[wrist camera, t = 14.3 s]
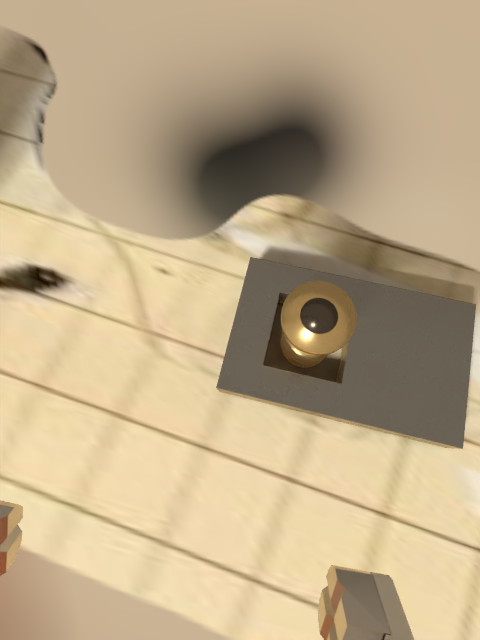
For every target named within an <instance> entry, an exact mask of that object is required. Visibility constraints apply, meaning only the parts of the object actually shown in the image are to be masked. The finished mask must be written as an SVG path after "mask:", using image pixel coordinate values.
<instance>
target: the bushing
mask: <svg viewBox="0 0 480 640" xmlns="http://www.w3.org/2000/svg"><path fill="white" fill-rule="evenodd" d="M356 324H357V313H356V308H355V305H354V303H353V301H352V300H351V298H350V297H349V295H348V294H347V293H346V292H345V291H344V290H342V289H341V288H340V287H338V286H336V285H334V284H332V283H329V282H324V281H311V282H307V283H304V284H301V285H299V286H298V287H296V288H295V289H293V290H292V291H291V292H290V293H289V295H288V296H287V298H286V299H285V301H284V303H283V307H282V311H281V326H282V330H283V332H282V336H281V341H280V346H281V351H282V353H283V355H284V357H285V358H286V359H287V360H288V361H289V362H290V363H292V364H293V365H295V366H298V367H303V368H307V367H313V366H315V365H317V364H319V363H320V362H321V361H322V360H323V359H324V358H325V357H326V356H327V355H328V354H330V353H333V352H335V351H337V350H339V349H340V348H342V347H343V346H344V345H345V344H346V343H347V342H348V341H349V340H350V338H351V337H352V335H353V333H354V331H355V329H356Z"/></svg>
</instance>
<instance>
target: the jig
mask: <svg viewBox="0 0 480 640" xmlns="http://www.w3.org/2000/svg"><path fill="white" fill-rule="evenodd" d="M311 281H324V282H329V283H332V284H334V285H336V286H338V287H340V288H341V289H342V290H344V291H345V292H346V293H347V294H348V295H349V297H350V298H351V300H352V301H353V303H354V305H355V308H356V313H357V324H356V329H355V331H354V333H353V335H352V337H351V338H350V340H349V341H348V342H347V343H346V344H345V345H344V346H343V347H342V353H341V358H340V364H339V369H338V375H337V380H336V382H332V381H328V380H324V379H319V378H315V377H311V376H307V375H303V374H298V373H294V372H290V371H286V370H282V369H277V368H273V367H269V366H265V365H264V361H265V357H266V353H267V348H268V344H269V340H270V335H271V331H272V327H273V323H274V318H275V314H276V310H277V305H278V303H282V304H283V303H284V301H285V299H286V298H287V296H288V295H289V293H290V292H291V291H292V290H293V289H295V288H296V287H298V286H299V285H301V284H304V283H307V282H311ZM475 309H476V304H472V303H467V302H462V301H457V300H453V299H448V298H443V297H438V296H434V295H429V294H424V293H419V292H414V291H410V290H405V289H400V288H395V287H391V286H386V285H381V284H376V283H372V282H367V281H362V280H357V279H353V278H348V277H343V276H338V275H333V274H329V273H324V272H319V271H314V270H310V269H305V268H300V267H295V266H291V265H286V264H281V263H276V262H272V261H267V260H262V259H257V258H252V257H250V261H249V265H248V269H247V273H246V277H245V280H244V284H243V288H242V292H241V296H240V299H239V303H238V307H237V311H236V315H235V319H234V322H233V326H232V330H231V334H230V338H229V342H228V345H227V349H226V353H225V357H224V361H223V364H222V368H221V372H220V376H219V380H218V384H217V387H216V388H217V389H218V390H219V391H220V392H224V393H228V394H232V395H236V396H240V397H244V398H248V399H252V400H256V401H260V402H264V403H268V404H272V405H276V406H280V407H284V408H288V409H292V410H296V411H300V412H304V413H308V414H312V415H316V416H320V417H324V418H328V419H332V420H336V421H340V422H345V423H349V424H353V425H357V426H361V427H365V428H369V429H373V430H377V431H381V432H385V433H389V434H393V435H397V436H401V437H405V438H409V439H413V440H417V441H421V442H425V443H429V444H433V445H437V446H441V447H445V448H458V449H463V441H464V430H465V419H466V408H467V397H468V386H469V375H470V364H471V353H472V342H473V331H474V320H475Z"/></svg>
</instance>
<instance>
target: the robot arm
mask: <svg viewBox="0 0 480 640" xmlns="http://www.w3.org/2000/svg"><path fill="white" fill-rule="evenodd" d="M22 518H23V507H22V506H21V505H18V504H14V503H9V502H5V501H0V576H1V575H2V574H4V573H6V572H7V570H8V569H9V567H10V566H11V564H12V563H13V561H14V559H15V557H16V555H17V553H18V551H19V548H20V544H21V540H22V531H21V529H20V528H19V526H18V525H17V524H18V523H19V522H20V520H21V519H22ZM326 577H327V582H328V586H327V587H326V588H324V589H323V590H322V593H321V596H320V600H319V610H318V620H319V630H320V634H321V636H322V637H323V638H324V640H414V637H413V635H412V632H411V629H410V626H409V624H408V621H407V618H406V615H405V613H404V610H403V607H402V605H401V602H400V599H399V596H398V594H397V591H396V588H395V585H394V583H393V580H392V578H391V577H390V576H389V575H383V574H378V573H372V572H367V571H361V570H356V569H350V568H345V567H339V566H334V565H331V567H330V568H329V570H328V573H327V576H326Z"/></svg>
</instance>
